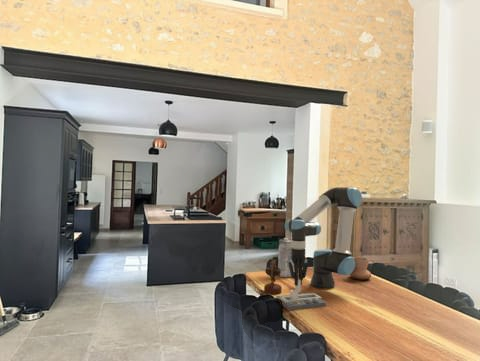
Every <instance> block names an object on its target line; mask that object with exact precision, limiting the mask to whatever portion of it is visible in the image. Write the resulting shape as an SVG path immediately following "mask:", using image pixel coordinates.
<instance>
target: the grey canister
mask: <svg viewBox="0 0 480 361" xmlns="http://www.w3.org/2000/svg"><path fill="white" fill-rule="evenodd" d="M291 240H292V239H288V237H284V238H283V239H279V240H278V255H277V256H278V257H277V258H278V264H277V268H280V270H281V273H280V275H279V276H280V278H291V273H290V269H289V265H288V263H287V261H290V260H291V257H292V255H291V249H292V247H291ZM292 265H293V270H294V263H293V262H292Z"/></svg>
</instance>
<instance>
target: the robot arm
mask: <svg viewBox="0 0 480 361" xmlns="http://www.w3.org/2000/svg"><path fill="white" fill-rule="evenodd" d="M362 203H363V195H362V193H361V191H360V189H359V188H357V187H350V186H349V187H347V186H346V187H338V186H337V187H333V188H330V189H328V190H326V191H325V192H323V193H321V195H320V196H319V197H318V199H317V200H315V201H314V202H312V204H310V206H308V207H307V208H306V209H305V210H303V211H302V212H301V213H300V214H298V215H297V216H296V217H294V219H287V220H285V224H284V229H285V231H286V232H287V233H291V235H290V236H291V239H290V240H291V247H292V249H291V255H292V257H291V260H290V261H287V263H288V265H289V269H290V273H291V277H290V278H292V279H293V280H294V286H295V290H296V291H298V293H301V292H302V288H301V287H302V286H303V280H304V279H305V278H306V277H307V271H308V268H309V263H310V262H311V261H310V260H308V259H307V258H306V237H312V236H318V235H319V234H320V233H321V231H322V227H321V224H320V223H319V222H317V221H314V219H315V218H316V217H318V216H319V215H320V214H321V213H322V212H324V211H325V210H326V209H330V208H331V207H332V206H337V209H338V210H339V214H338V220H337V221H338V222H337V223H338V224H337V231H336V239H335V245H334V246H335V247H334V248H333V249H317V250H314V252H313V265H312V266H313V268H312V269H313V272H312V276H311V280H310V286H311V287H312V288H315V289H319V290H331V289H334V288H335V287H336V286H335V284H336V283H335V280H334V277H333V274H337V275H340V276H345V277H346V276H350V274H351V272H352V271H353V270H354V267H355V261H354V258H352V257H353V254H352V252H351V242H352V241H351V240H352V232H353V225H354V224H353V222H354V215H355V212H356V211H357V210H358V207H360V206H361V205H362ZM292 262H293V263H294V270H293V265H292Z"/></svg>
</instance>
